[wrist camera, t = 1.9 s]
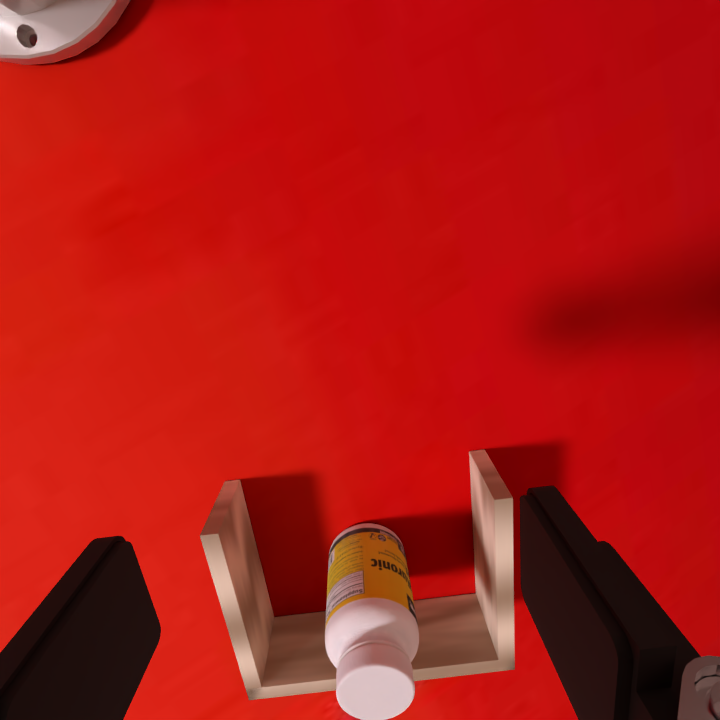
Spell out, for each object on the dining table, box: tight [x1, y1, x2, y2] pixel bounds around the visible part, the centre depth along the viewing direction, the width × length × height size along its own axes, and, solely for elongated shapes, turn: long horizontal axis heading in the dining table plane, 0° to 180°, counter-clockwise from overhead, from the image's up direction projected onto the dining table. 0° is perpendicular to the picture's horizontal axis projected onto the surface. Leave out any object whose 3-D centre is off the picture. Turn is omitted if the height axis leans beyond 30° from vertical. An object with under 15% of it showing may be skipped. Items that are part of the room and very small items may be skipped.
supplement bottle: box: [325, 523, 419, 720], centre depth 26 cm, size 5×5×10 cm
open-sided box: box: [200, 450, 515, 700], centre depth 28 cm, size 13×17×5 cm
